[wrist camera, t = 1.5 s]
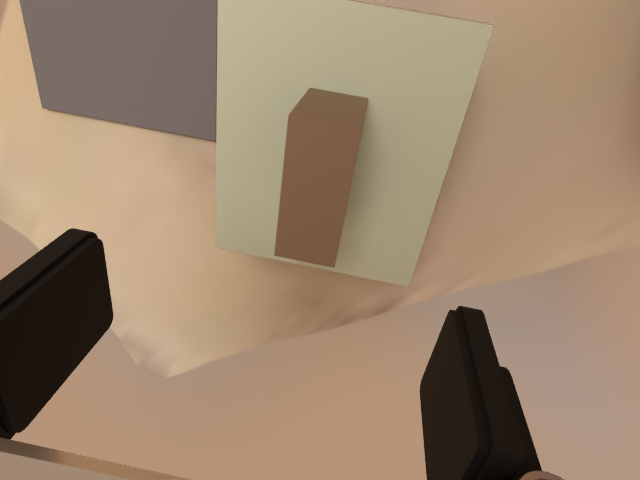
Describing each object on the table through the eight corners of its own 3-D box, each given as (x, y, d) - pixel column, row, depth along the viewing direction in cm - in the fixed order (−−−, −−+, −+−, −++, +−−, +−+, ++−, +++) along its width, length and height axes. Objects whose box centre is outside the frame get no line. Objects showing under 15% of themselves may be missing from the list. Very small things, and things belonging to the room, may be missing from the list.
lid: (235, -22, 19) (166, -23, 13) (483, 21, 18) (525, 39, 12) (228, 228, 26) (181, 298, 20) (407, 264, 25) (412, 346, 19)
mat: (-11, -174, 21) (-18, -176, 21) (220, -137, 21) (218, -139, 20) (46, 106, 29) (42, 108, 28) (217, 139, 28) (215, 141, 28)
